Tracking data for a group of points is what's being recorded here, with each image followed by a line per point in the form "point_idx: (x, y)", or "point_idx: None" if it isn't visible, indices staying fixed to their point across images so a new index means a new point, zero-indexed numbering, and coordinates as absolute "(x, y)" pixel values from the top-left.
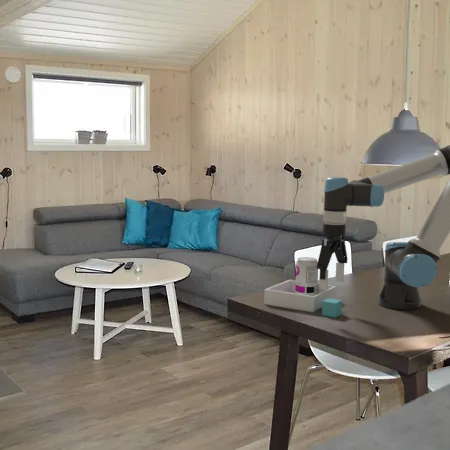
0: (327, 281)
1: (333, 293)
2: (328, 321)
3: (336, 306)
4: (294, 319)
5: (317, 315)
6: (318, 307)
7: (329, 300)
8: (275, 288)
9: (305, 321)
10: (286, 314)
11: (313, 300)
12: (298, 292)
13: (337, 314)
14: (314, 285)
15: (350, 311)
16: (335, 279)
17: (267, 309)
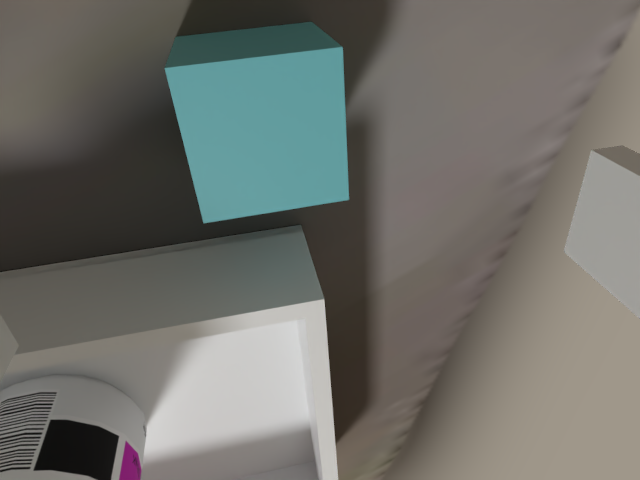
0: None
1: None
2: (456, 9)
3: (325, 40)
4: (512, 218)
5: (348, 167)
6: (218, 248)
7: (279, 167)
8: None
9: (527, 146)
10: (435, 302)
11: (318, 282)
12: (141, 468)
13: (276, 29)
14: (30, 478)
15: (14, 10)
16: (7, 366)
17: (399, 402)
